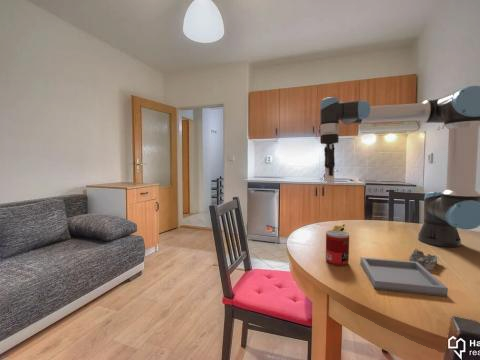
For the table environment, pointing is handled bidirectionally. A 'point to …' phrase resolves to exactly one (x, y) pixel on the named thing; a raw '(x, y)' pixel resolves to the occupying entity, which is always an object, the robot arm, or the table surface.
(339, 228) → the yellow walkie talkie
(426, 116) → the robot arm
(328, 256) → the canned food
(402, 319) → the table surface
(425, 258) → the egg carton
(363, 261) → the tray
